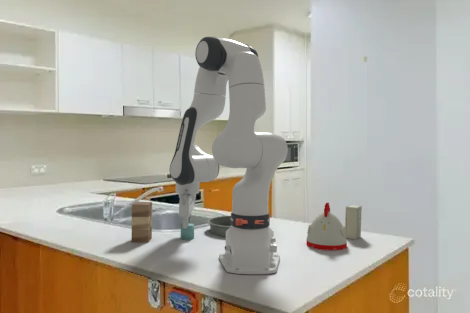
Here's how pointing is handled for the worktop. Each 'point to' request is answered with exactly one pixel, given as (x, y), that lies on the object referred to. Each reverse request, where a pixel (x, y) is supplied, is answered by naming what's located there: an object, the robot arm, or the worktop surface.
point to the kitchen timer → (326, 232)
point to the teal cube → (187, 232)
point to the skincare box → (353, 221)
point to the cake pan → (220, 225)
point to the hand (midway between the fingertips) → (186, 224)
